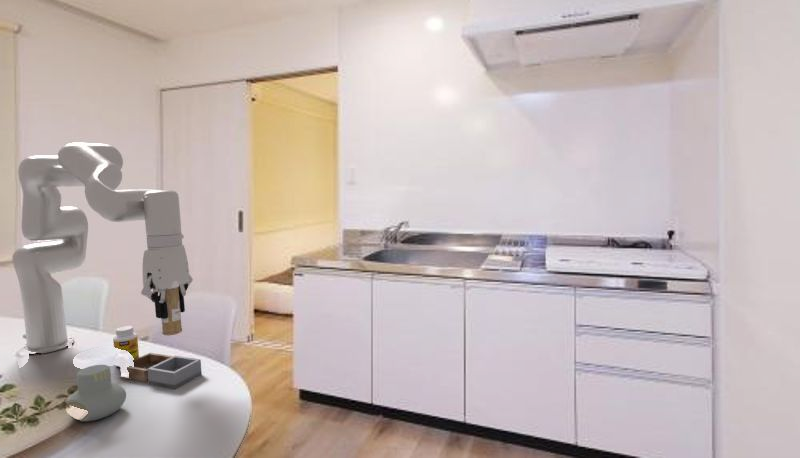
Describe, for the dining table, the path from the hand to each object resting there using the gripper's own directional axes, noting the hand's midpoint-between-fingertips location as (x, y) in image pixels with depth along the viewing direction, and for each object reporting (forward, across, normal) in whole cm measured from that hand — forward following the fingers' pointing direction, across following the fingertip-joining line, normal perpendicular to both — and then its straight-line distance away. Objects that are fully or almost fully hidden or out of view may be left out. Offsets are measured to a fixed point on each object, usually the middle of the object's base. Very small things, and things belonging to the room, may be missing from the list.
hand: (170, 313), depth 109 cm
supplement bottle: (+17, -3, -20) cm, 27 cm away
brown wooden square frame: (+17, -1, -10) cm, 20 cm away
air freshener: (+17, +18, -3) cm, 25 cm away
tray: (+17, 0, 0) cm, 17 cm away
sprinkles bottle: (+5, 0, 0) cm, 5 cm away
